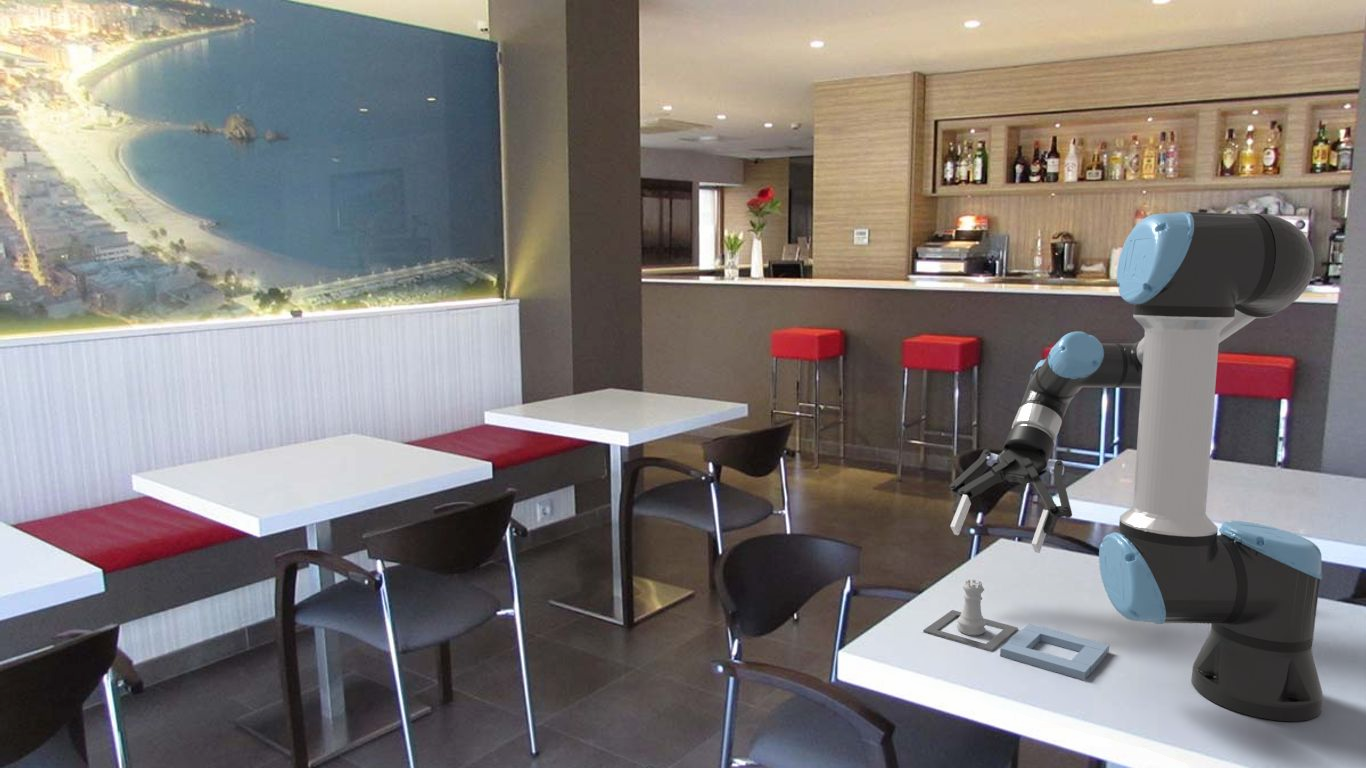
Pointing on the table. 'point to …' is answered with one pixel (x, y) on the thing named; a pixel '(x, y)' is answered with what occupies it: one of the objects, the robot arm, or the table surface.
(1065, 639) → the socket
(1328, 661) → the table surface
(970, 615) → the rook chess piece
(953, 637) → the bezel
